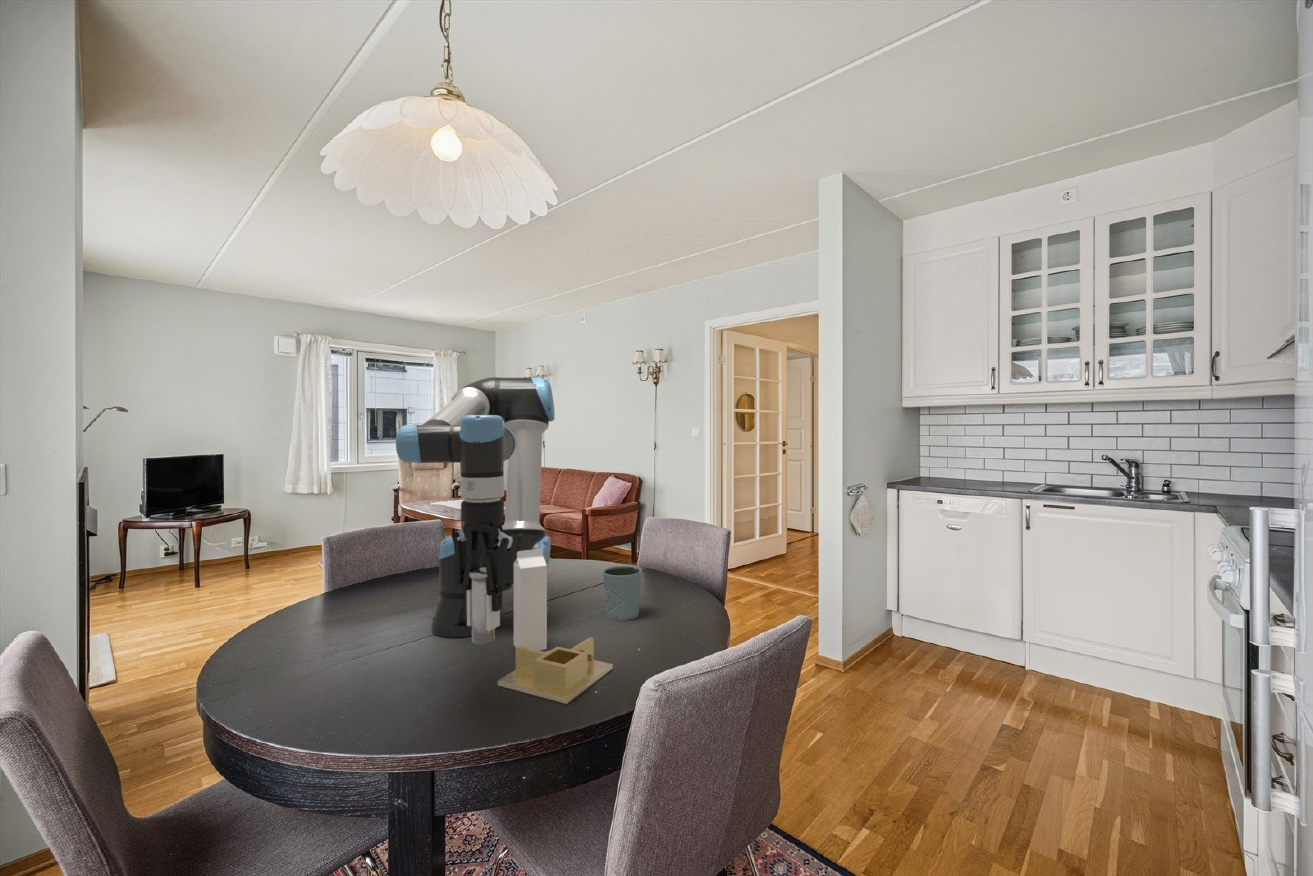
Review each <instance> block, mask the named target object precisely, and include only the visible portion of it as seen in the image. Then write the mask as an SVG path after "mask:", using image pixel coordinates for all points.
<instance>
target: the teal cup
mask: <svg viewBox="0 0 1313 876" xmlns="http://www.w3.org/2000/svg"><path fill="white" fill-rule="evenodd" d="M602 575H603V577H602V578H603V583H604V584H603V586H604V587H603V588H604V591H605V592H604V597H605V602H606V603H605V609H606V616H607V618H608V619H610V620H614V621H631V620H635V619H636V618H637V617H639V614H640V599H641V596H640V594H641V590H640V589H641V581H642V579H641V578H642V569H641V568H640V567H636V566H631V565H617V566H610V567H607V568H605V569H603V571H602ZM630 619H631V620H630Z"/></svg>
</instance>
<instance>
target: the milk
mask: <svg viewBox="0 0 1313 876" xmlns="http://www.w3.org/2000/svg"><path fill="white" fill-rule="evenodd" d="M547 575H548V568H547V565H546V562H545V559H544V557H543V550H542V549H536V550H526V551H518V552H517V559H516V560H515V562H514V584H513V646H514V647H515V649H516V647H518V646H521V647H526V648H530V649H535V650H540V651H544V650H547V648H548V643H547V642H548V636H547V635H548V634H547V633H548V630H547V629H548V627H547V626H548V624H547V623H548V622H547V619H548V614H547V613H548V608H547V605H548V593H547V591H548V586H547V585H548V582H547V581H548V579H547V578H548V576H547Z"/></svg>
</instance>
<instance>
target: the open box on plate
mask: <svg viewBox="0 0 1313 876" xmlns="http://www.w3.org/2000/svg"><path fill="white" fill-rule="evenodd" d="M594 641H595V639H594V637H588V638H586V639H585V640H583V641H581V642H579V643H578V644H576V645H575V646H572V648H565V647H562V646H556V647H554V648H552V649H551V650H550V649H549V650H547V651H544V650H535V649H530V648H526V647H521V646H518V647H516V648H515V669H514V670H513V671H512V672H510V673H507V674H506V675H505V676H503V677H501V678H499V679H498V680H497V686H498V687H501V688H505V689H510V690H513V691H516V692H520V693H524V694H529V695H530V696H531V695H532V696H535V697H539V698H542V699H547V700H550V701H554V702H558V703H561V704H565V705H568V704H570V702H572V701H573V700H574V699H576V698H577V697H578V696H580V695H581V694H582V693H584V691H586V690H587V689H589V688H590V687H592V685H594V684H596V683H597V681H599V680H601V678H603V677H604V676H606V675H607V674H609V672H610V671H612V670H613V663H609V662H604V661H599V660H595V659H594V658H595V657H594V656H595V654H594V653H595V652H594V651H595V650H594V648H595V647H594V646H595V645H594V643H595V642H594Z"/></svg>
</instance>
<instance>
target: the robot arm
mask: <svg viewBox="0 0 1313 876" xmlns="http://www.w3.org/2000/svg"><path fill="white" fill-rule="evenodd" d="M555 415H556V413H555V403H554V395H553V390H552V386H551V384H550V381H549V380H548V379H546V378H543V377H541V378H540V377H533V376H532V377H497V376H495V377H494V376H493V377H492V376H491V377H487V378H482V379H479V380H477V381H476V380H475V381H473V382H471V383H468V384H466V385H464V386H463V387H461V388H460V389H458V390H457V391H455V393H454V394H453V396H452V398H451V401H450V402H449V403H448V404H446V405H445V406H444V407H443V408H441V409H440V410H439V411H438V412H436V413H435V414H434V415H433V416H432V417H430V418H429V419H428V420H427V421H425V422H424V423H423V424H407V425H406V424H405V425H402V426H401V427H400V428H399V429H398V431H397V432H396V437H395V450H396V455H397V457H398V459H399V460H401V462H404V463H412V464H413V463H414V464H415V463H416V464H419V465H420V464H444V463H445V464H446V463H447V464H450V463H451V464H455V463H456V464H459V463H460V498H462V499H463V500H461V503H460V519H461V521H462V522H463V523H464V524H463V526H462V529H460V530H457V531H452V532H451V534H450V536H448V537H446V538H444V539H443V540H442V541H441V542H440V545H439V556H438V561H439V565H438V570H439V571H438V572H439V573H438V574H439V580H438V581H439V584H438V585H439V587H438V589H439V598H438V602H437V606H436V609H435V613H434V616H433V617H432V620H431V632H432V633H433V634H434V635H436V636H439V637H444V638H466V637H472V579H471V578H470V577H469V571H472V570H475V569H478V568H485V567H486V572H487V578H488V584H489V591H490V592H487V594H486V630H489V631H490V630H492V629H494V628H495V629H497V628H498V627H500V626H501V612H500V611H501V610H502V608H503V593H504V592H505V591H508V590H510V589H512V587H513V586H514V562H515V560H516V559H517V552H518V551H526V550H536V549H542V550H543V557H544V559H545V562H546V565H547V569H548V567H549V562H550V555H551V544H552V540H551V537H550V536H549V535H548V536H547V535H546V529H545V528H544V527H543V526H542V525H541V523H540V512H541V508H540V507H541V487H542V486H541V484H542V483H541V481H542V456H543V455H542V454H543V434H544V433H545V432H546V431H547V430H549V425H550V424H549V422H550V423H551V422H553V421H555ZM506 460H507V474H506V493H505V476H504V472H505V471H504V469H505V468H504V467H505V466H504V462H505V461H506ZM505 495H506V497H505V501H504V500H503V499H502V498H503V497H504V496H505ZM503 519H504V524H503V525H502V521H503ZM512 585H513V586H512Z"/></svg>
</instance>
